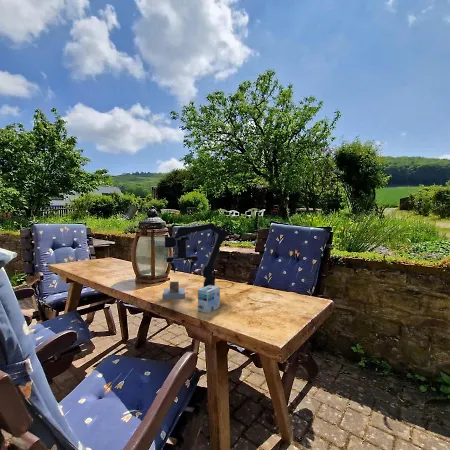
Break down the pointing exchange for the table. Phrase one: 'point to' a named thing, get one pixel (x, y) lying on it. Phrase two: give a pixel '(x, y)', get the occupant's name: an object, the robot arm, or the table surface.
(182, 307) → the table surface
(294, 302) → the table surface
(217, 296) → the light bulb box
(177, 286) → the walnut cube
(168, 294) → the slate block
